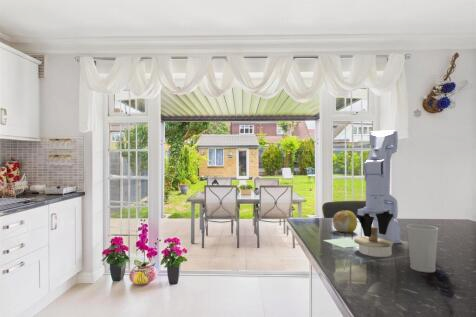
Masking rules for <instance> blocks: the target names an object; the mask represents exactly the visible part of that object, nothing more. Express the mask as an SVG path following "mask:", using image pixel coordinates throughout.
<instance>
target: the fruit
mask: <svg viewBox="0 0 476 317" xmlns="http://www.w3.org/2000/svg"><path fill="white" fill-rule="evenodd" d="M332 225H333V226H332V227H333V228H334V229H335V230H336V231H338V232H339V233H344V234H345V233H346V234H352V233H353V232H354V231H355V230H356V229H357V227H358V218H357V215H355V213H354V212H353V211H352V210H339V211H337V212H336V213H335V214H334V215H333V217H332Z"/></svg>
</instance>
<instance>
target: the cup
mask: <svg viewBox="0 0 476 317" xmlns="http://www.w3.org/2000/svg"><path fill="white" fill-rule="evenodd" d="M406 232H407V237H408V238H407V239H408V252H409V262H410V263H409V264H410V265H409V267H410V269H412V270H414V271H417V272H422V273H435V272H436V259H437V248H438V247H437V246H438V240H439V239H438V238H439V228H438V227H436V226H433V225H426V224H407V225H406Z"/></svg>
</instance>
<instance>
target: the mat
mask: <svg viewBox="0 0 476 317" xmlns="http://www.w3.org/2000/svg"><path fill="white" fill-rule="evenodd" d="M322 241H323V242H326V243H329V244H331V245H334V246H337V247H339V248H343V249H344V248H345V249H346V248H352V247H353V248H355V247H359V244H357V243H355V242H354V239H351V238H349V237H344V238H333V239H324V240H322Z"/></svg>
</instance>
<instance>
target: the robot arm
mask: <svg viewBox="0 0 476 317" xmlns="http://www.w3.org/2000/svg"><path fill="white" fill-rule="evenodd" d="M398 138H399V136H398V130H396V129H393V130H392V129H391V130H390V129H389V130H375V131H374V130H371V131H370V133H369V145H370V149H371V150H370V151H369V154H368V157H367V160H366V161H364V162H363V175H364V182H365V206H363V208H358V209H357V214H356V219H357V221H359V224H360V226H361V228H362V232H363V235H364V236H363V237H371V228H372V227H377V228H378V237H379V238H384V239H388V240H391V241H392V242H393V244H398V243H399V244H400V243H402V242H403V241H402V240H401V225H400V222H399V221H398V220H397V219H398V213H399V210H398V209H399V208H398V201H397V199H396V197H394V196H393V195H391V192H390V191H391V189H390V188H391V159H392V156H393V154H395V153H397V150H398Z"/></svg>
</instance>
